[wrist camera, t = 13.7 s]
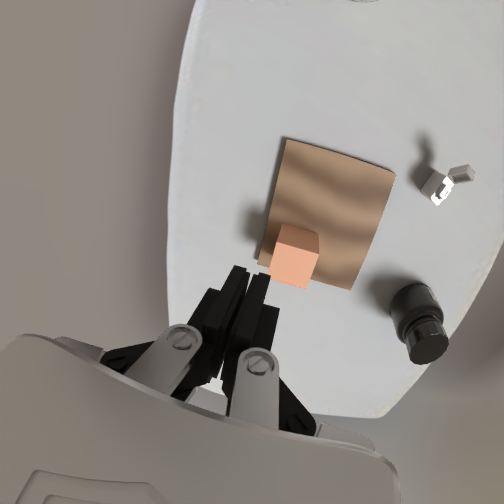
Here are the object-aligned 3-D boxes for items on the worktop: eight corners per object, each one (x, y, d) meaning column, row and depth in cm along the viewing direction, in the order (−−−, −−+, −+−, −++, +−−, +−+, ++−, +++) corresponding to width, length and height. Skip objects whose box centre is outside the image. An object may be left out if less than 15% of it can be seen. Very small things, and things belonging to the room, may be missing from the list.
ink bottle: (424, 322, 43) (440, 368, 33) (384, 323, 45) (395, 372, 35) (438, 280, 39) (463, 324, 29) (396, 279, 41) (414, 326, 30)
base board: (287, 138, 35) (286, 139, 34) (393, 172, 34) (396, 174, 33) (258, 260, 45) (257, 264, 44) (349, 286, 43) (350, 290, 42)
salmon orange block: (282, 223, 40) (276, 241, 34) (318, 234, 39) (319, 254, 34) (273, 255, 42) (266, 278, 37) (307, 265, 42) (306, 289, 36)
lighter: (426, 197, 34) (448, 214, 27) (419, 190, 34) (441, 206, 27) (451, 163, 30) (478, 174, 23) (444, 155, 30) (470, 164, 23)
